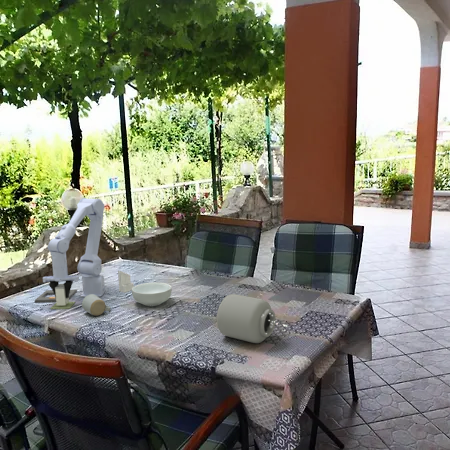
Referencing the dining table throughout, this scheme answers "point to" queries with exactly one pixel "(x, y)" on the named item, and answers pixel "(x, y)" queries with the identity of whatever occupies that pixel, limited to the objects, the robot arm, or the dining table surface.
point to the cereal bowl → (151, 293)
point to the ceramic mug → (94, 305)
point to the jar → (245, 318)
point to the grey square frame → (51, 299)
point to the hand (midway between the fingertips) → (62, 297)
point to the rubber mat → (63, 306)
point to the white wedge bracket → (124, 282)
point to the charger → (61, 295)
